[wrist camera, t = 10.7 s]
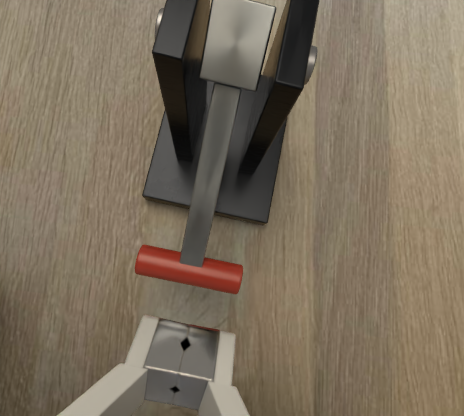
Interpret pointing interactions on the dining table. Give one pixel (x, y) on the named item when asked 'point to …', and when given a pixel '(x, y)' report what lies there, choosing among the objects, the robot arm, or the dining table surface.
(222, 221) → the dining table surface
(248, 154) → the switch bracket
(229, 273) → the power lever
